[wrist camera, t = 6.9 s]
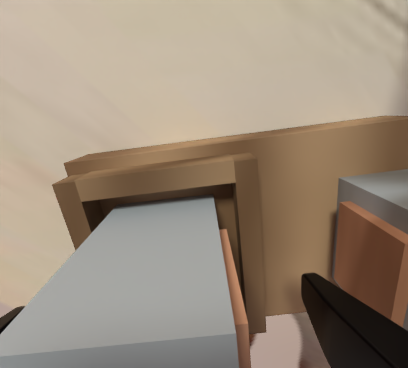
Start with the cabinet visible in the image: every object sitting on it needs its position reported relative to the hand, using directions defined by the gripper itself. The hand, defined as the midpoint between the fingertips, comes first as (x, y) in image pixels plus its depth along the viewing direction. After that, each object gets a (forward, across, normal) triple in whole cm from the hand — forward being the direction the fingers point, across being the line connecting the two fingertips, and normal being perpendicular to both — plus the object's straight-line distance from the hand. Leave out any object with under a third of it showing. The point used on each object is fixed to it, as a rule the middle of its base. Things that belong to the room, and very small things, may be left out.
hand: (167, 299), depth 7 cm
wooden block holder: (+5, -3, 0) cm, 6 cm away
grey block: (+3, 0, 0) cm, 3 cm away
